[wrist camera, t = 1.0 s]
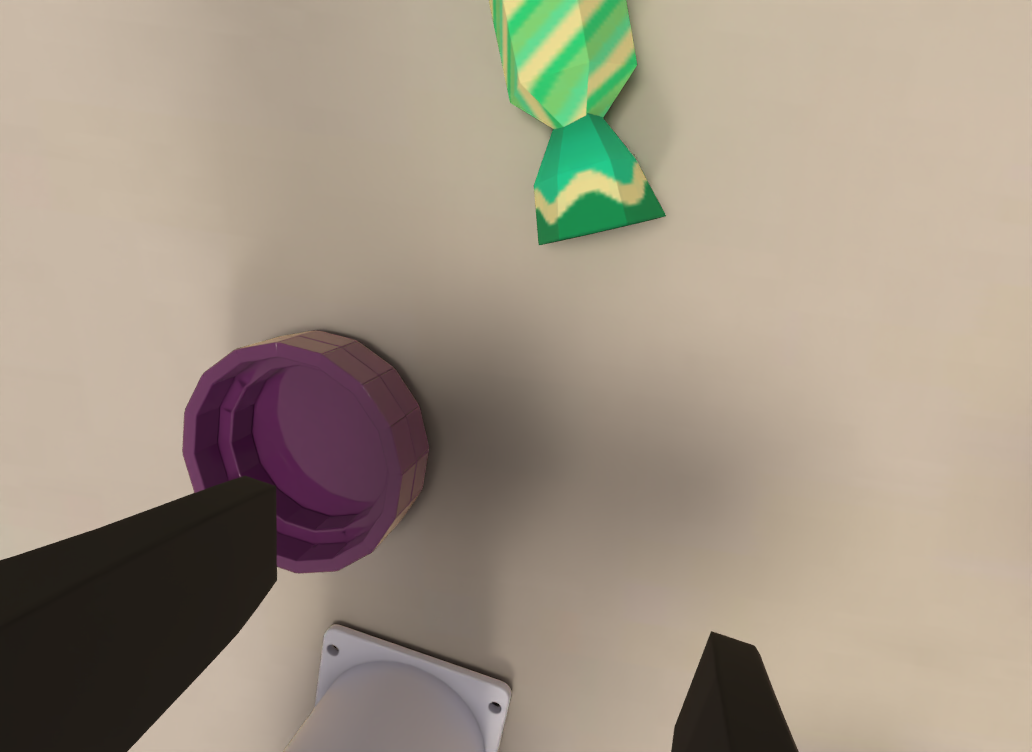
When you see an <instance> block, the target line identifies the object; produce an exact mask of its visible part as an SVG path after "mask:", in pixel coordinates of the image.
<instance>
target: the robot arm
mask: <svg viewBox="0 0 1032 752" xmlns="http://www.w3.org/2000/svg"><path fill="white" fill-rule="evenodd" d="M276 581H277V522H276V486H274V485H271V484H268V483H265V482H262V481H259V480H256V479H253V478H250V477H247V476H243V477H239V478H236V479H233V480H230V481H227V482H224V483H221V484H218V485H215V486H212V487H210V488H207V489H204V490H201V491H199V492H196V493H193V494H190V495H188V496H185V497H182V498H180V499H177V500H174V501H171V502H169V503H166V504H163V505H161V506H158V507H155V508H153V509H150V510H147V511H144V512H142V513H139V514H136V515H133V516H131V517H128V518H125V519H123V520H120V521H117V522H114V523H112V524H109V525H106V526H103V527H101V528H98V529H95V530H92V531H89V532H86V533H83V534H80V535H77V536H74V537H71V538H68V539H65V540H62V541H59V542H56V543H53V544H50V545H47V546H44V547H41V548H38V549H35V550H32V551H29V552H26V553H23V554H19V555H16V556H13V557H10V558H7V559H3V560H0V752H127V751H128V750H129V749H130V748H131V747H132V746H133V745H134V744H135V743H136V742H137V741H138V740H139V739H140V738H141V736H142V735H143V734H144V733H145V732H146V731H147V730H148V729H149V728H150V727H151V726H152V725H153V724H154V723H155V722H156V721H157V720H158V718H159V717H160V716H161V715H162V714H163V713H164V712H165V711H166V710H167V709H168V708H169V707H170V706H171V705H172V704H173V703H174V701H175V700H176V699H177V698H178V697H179V696H180V695H181V694H182V693H183V692H184V691H185V690H186V689H187V688H188V687H189V686H190V685H191V684H192V682H193V681H194V680H195V679H196V678H197V677H198V676H199V675H200V674H201V673H202V672H203V671H204V670H205V669H206V668H207V666H208V665H209V664H210V663H211V662H212V661H213V660H214V659H215V658H216V657H217V656H218V655H219V654H220V652H221V651H222V650H223V649H224V648H225V647H226V646H227V645H228V644H229V643H230V642H231V640H232V639H233V638H234V637H235V636H236V635H237V634H238V633H239V631H240V630H241V629H242V627H243V626H244V625H245V624H246V622H247V621H248V620H249V618H250V617H251V616H252V614H253V613H254V612H255V610H256V609H257V608H258V606H259V605H260V603H261V602H262V601H263V599H264V598H265V596H266V595H267V594H268V592H269V591H270V589H271V588H272V586H273V585H274V584H275V582H276ZM333 645H335V646H336V647H337V648H338V649H339V650H337V649H335V648H334V647H333ZM511 695H512V691H511V689H510V687H509V686H508V685H507V684H506V683H505V682H503V681H501V680H498V679H495V678H492V677H489V676H486V675H483V674H480V673H477V672H475V671H472V670H469V669H466V668H463V667H460V666H457V665H454V664H451V663H449V662H446V661H443V660H440V659H437V658H434V657H431V656H428V655H425V654H423V653H420V652H417V651H414V650H411V649H408V648H405V647H402V646H399V645H397V644H394V643H391V642H388V641H385V640H382V639H379V638H376V637H373V636H371V635H368V634H365V633H362V632H359V631H356V630H353V629H350V628H347V627H345V626H342V625H337V624H335V625H331V626H330V627H329V628H328V629H327V631H326V632H325V634H324V639H323V647H322V654H321V662H320V669H319V677H318V685H317V692H316V700H315V707H314V710H313V711H312V712H311V714H310V715H309V716H308V718H307V719H306V721H305V722H304V723H303V725H302V726H301V727H300V729H299V730H298V732H297V733H296V734H295V736H294V737H293V738H292V740H291V741H290V743H289V744H288V745H287V747H286V748H285V749H284V751H283V752H498V750H499V746H500V742H501V737H502V733H503V729H504V725H505V721H506V716H507V712H508V708H509V704H510V700H511ZM492 702H496V703H498V704H499V705H500V706H496V705H494V704H493V703H492ZM671 752H799V751H798V749H797V747H796V744H795V742H794V740H793V737H792V735H791V732H790V730H789V728H788V725H787V723H786V720H785V718H784V715H783V713H782V711H781V708H780V706H779V703H778V700H777V698H776V695H775V693H774V690H773V688H772V685H771V683H770V680H769V677H768V675H767V672H766V669H765V667H764V664H763V661H762V658H761V656H760V654H759V652H758V650H757V649H756V647H755V646H754V645H751V644H748V643H745V642H742V641H739V640H736V639H733V638H730V637H727V636H724V635H721V634H718V633H715V632H712V631H711V633H710V636H709V639H708V641H707V644H706V646H705V649H704V652H703V654H702V657H701V659H700V662H699V665H698V667H697V670H696V672H695V675H694V678H693V680H692V683H691V686H690V688H689V691H688V693H687V696H686V699H685V701H684V704H683V706H682V709H681V712H680V714H679V717H678V719H677V722H676V725H675V728H674V735H673V743H672V750H671Z"/></svg>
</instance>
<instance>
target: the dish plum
mask: <svg viewBox="0 0 1032 752" xmlns="http://www.w3.org/2000/svg"><path fill="white" fill-rule="evenodd" d="M182 452H183V457H184V460H185V463H186V467H187V470H188V473H189V476H190V480H191V483H192V486H193V490H194V493H196V492H199V491H201V490H204V489H207V488H210V487H212V486H215V485H218V484H221V483H224V482H227V481H230V480H233V479H236V478H239V477H243V476H247V477H250V478H253V479H256V480H259V481H262V482H265V483H268V484H271V485H274V486H276V522H277V567H279V568H282V569H285V570H288V571H291V572H294V573H315V572H333V571H339V570H341V569H343V568H345V567H346V566H348V565H350V564H352V563H354V562H356V561H357V560H359V559H361V558H363V557H365V556H367V555H368V554H370V553H372V552H373V551H374V550H375V549H376V548H377V547H378V546H379V544H380V543H381V542H382V541H383V540H384V539H385V538H386V537H387V536H388V534H389V533H390V532H391V531H392V530H393V529H394V528H395V527H396V526H397V524H398V523H399V522H400V521H401V520H402V519H403V517H404V516H405V514H406V513H407V511H408V510H409V508H410V507H411V506H412V504H413V503H414V501H415V500H416V498H417V497H418V495H419V494H420V493H421V491H422V488H423V483H424V477H425V471H426V466H427V460H428V454H429V445H428V440H427V436H426V431H425V427H424V423H423V418H422V414H421V409H420V406H419V404H418V403H417V401H416V400H415V398H414V397H413V395H412V393H411V392H410V390H409V389H408V387H407V386H406V384H405V383H404V381H403V380H402V378H401V377H400V375H399V374H398V372H397V371H396V369H395V368H394V367H393V366H391V365H390V364H389V363H387V362H386V361H385V360H383V359H382V358H381V357H379V356H378V355H376V354H375V353H374V352H372V351H371V350H370V349H368V348H367V347H366V346H364V345H363V344H362V343H360V342H358V341H357V340H354V339H350V338H346V337H342V336H338V335H335V334H331V333H327V332H323V331H319V330H316V331H315V330H313V331H307V332H302V333H296V334H290V335H285V336H279V337H276V338H272V339H269V340H265V341H262V342H258V343H255V344H251V345H248V346H244V347H241V348H237V349H235V350H233V351H232V352H230V353H229V354H228V355H227V356H225V357H224V358H223V359H221V360H220V361H219V362H217V363H216V364H215V365H213V366H212V367H211V368H209V369H208V370H207V371H205V372H204V373H203V375H202V376H201V378H200V380H199V382H198V384H197V386H196V388H195V390H194V392H193V394H192V396H191V398H190V400H189V402H188V404H187V406H186V408H185V412H184V430H183V449H182Z"/></svg>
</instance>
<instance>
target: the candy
mask: <svg viewBox="0 0 1032 752" xmlns="http://www.w3.org/2000/svg"><path fill="white" fill-rule="evenodd" d="M489 4H490V9H491V13H492V18H493V23H494V28H495V33H496V37H497V42H498V47H499V52H500V56H501V61H502V66H503V71H504V76H505V80H506V85H507V90H508V95H509V99H510V103H511V104H513V105H515V106H516V107H518V108H520V109H521V110H523V111H525V112H526V113H528V114H530V115H531V116H533V117H535V118H536V119H538V120H540V121H541V122H543V123H545V124H546V125H548V126H550V127H551V128H553V131H552V134H551V137H550V140H549V142H548V145H547V148H546V151H545V154H544V157H543V160H542V163H541V166H540V169H539V172H538V175H537V178H536V181H535V184H534V193H535V206H536V218H537V230H538V242H539V245H543V244H547V243H552V242H557V241H562V240H566V239H571V238H576V237H580V236H584V235H589V234H593V233H597V232H602V231H606V230H611V229H615V228H619V227H624V226H628V225H632V224H637V223H641V222H645V221H649V220H653V219H657V218H661V217H664V216H666V215H665V213H664V211H663V209H662V207H661V205H660V204H659V202H658V200H657V198H656V196H655V194H654V192H653V191H652V189H651V187H650V185H649V183H648V181H647V179H646V177H645V176H644V174H643V172H642V170H641V168H640V166H639V164H638V163H637V161H636V159H635V158H634V156H633V155H632V154H631V153H630V151H629V150H628V149H627V148H626V146H625V145H624V144H623V142H622V141H621V140H620V139H619V137H618V136H617V135H616V134H615V132H614V131H613V130H612V129H611V127H610V126H609V125H608V124H607V122H606V121H605V120H604V119H603V117H604V116H605V114H606V113H607V111H608V109H609V108H610V106H611V105H612V103H613V102H614V100H615V99H616V97H617V96H618V94H619V93H620V91H621V89H622V88H623V86H624V85H625V83H626V82H627V80H628V79H629V77H630V76H631V74H632V72H633V71H634V69H635V68H636V66H637V60H636V55H635V49H634V43H633V37H632V31H631V26H630V20H629V14H628V8H627V2H626V0H489Z"/></svg>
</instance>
